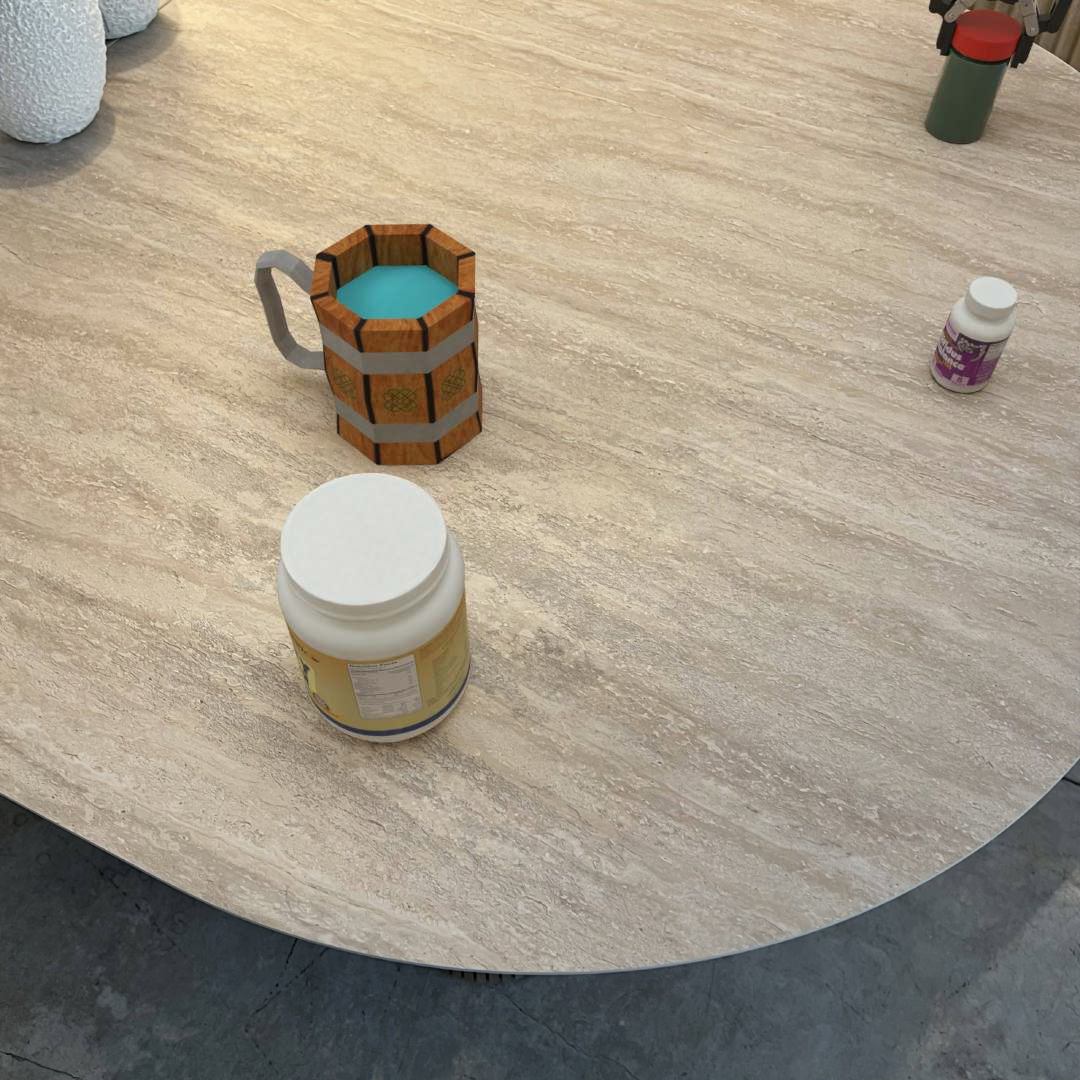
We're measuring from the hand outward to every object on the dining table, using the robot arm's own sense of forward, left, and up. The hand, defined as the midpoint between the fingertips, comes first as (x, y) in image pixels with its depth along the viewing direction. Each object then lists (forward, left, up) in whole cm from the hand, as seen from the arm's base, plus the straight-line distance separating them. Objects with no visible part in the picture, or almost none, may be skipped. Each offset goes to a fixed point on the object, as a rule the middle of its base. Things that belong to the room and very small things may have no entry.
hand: (978, 58), depth 121 cm
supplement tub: (+47, +78, -8) cm, 91 cm away
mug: (+54, +51, -8) cm, 74 cm away
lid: (0, 0, +3) cm, 3 cm away
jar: (0, 0, -8) cm, 8 cm away
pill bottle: (+3, +40, -8) cm, 41 cm away
